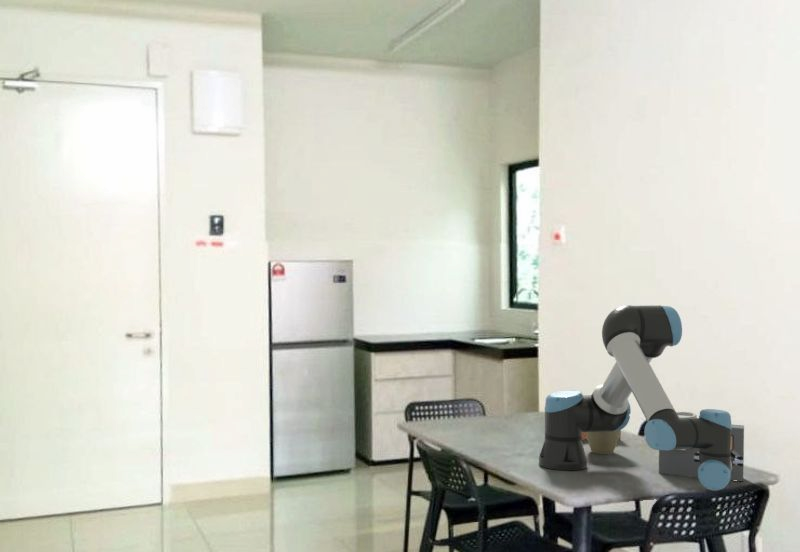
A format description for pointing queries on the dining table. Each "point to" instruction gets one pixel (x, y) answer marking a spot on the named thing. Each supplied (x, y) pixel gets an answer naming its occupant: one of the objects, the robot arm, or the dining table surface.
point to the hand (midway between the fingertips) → (721, 448)
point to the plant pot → (602, 441)
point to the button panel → (685, 465)
